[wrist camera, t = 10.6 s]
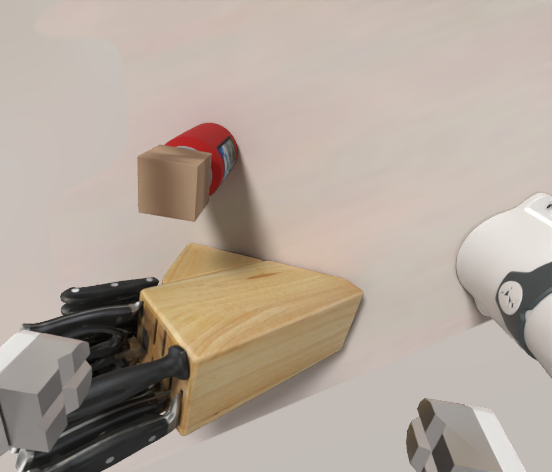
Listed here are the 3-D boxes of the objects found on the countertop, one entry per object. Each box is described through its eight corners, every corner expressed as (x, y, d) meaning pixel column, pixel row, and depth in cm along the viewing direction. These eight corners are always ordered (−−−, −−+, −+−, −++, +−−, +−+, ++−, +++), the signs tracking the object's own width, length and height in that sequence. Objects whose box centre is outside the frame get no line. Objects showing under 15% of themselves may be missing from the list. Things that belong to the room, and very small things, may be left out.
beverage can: (222, 184, 48) (198, 219, 37) (178, 155, 46) (139, 182, 36) (249, 142, 45) (231, 165, 34) (202, 110, 44) (168, 124, 33)
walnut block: (211, 153, 34) (197, 166, 29) (208, 202, 36) (194, 221, 32) (159, 144, 34) (137, 156, 29) (159, 194, 36) (138, 212, 32)
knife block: (125, 222, 51) (-90, 407, 23) (361, 279, 52) (425, 521, 24) (122, 286, 56) (-59, 502, 28) (338, 337, 57) (369, 593, 29)
